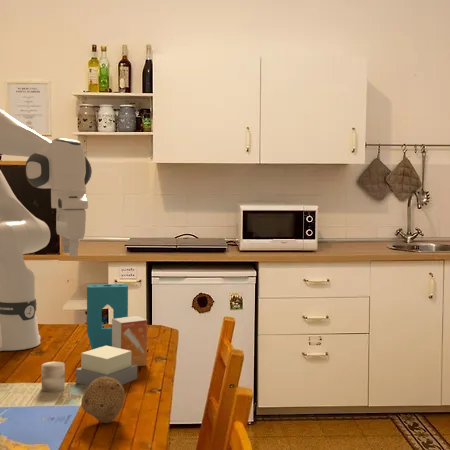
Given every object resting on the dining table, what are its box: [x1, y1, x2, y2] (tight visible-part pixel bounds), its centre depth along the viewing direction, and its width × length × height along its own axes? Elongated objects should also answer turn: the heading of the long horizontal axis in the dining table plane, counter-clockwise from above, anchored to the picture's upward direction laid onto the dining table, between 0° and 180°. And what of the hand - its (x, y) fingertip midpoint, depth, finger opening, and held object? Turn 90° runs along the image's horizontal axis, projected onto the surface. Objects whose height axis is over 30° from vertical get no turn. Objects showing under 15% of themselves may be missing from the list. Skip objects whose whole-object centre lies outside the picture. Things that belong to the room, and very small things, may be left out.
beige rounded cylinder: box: [41, 361, 66, 393], centre depth 157 cm, size 6×6×6 cm
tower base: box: [75, 364, 138, 386], centre depth 164 cm, size 11×11×4 cm
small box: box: [111, 315, 148, 367], centre depth 178 cm, size 8×6×13 cm
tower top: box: [80, 346, 131, 375], centre depth 164 cm, size 9×9×4 cm
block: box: [86, 283, 129, 350], centre depth 191 cm, size 12×5×20 cm, turn 101°
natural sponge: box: [81, 377, 126, 424], centre depth 136 cm, size 9×9×10 cm
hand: (70, 254), depth 165 cm, fingers open, 8 cm apart
